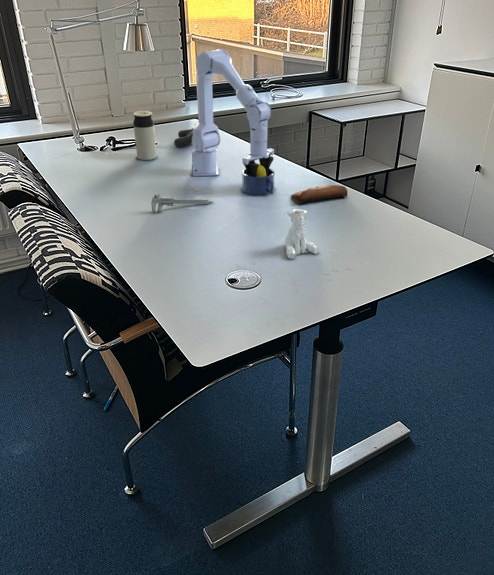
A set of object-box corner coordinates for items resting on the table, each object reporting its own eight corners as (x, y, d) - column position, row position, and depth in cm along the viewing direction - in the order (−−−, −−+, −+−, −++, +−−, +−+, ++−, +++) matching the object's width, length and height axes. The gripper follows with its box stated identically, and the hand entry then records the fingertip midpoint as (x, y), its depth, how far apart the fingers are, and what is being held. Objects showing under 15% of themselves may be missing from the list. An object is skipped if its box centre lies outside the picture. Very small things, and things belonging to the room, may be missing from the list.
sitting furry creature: (288, 260, 142) (290, 219, 136) (274, 246, 149) (275, 207, 142) (319, 253, 145) (322, 213, 139) (304, 240, 152) (306, 202, 146)
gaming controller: (179, 153, 229) (198, 142, 226) (171, 142, 227) (190, 130, 224) (184, 142, 243) (202, 131, 241) (177, 132, 241) (195, 120, 238)
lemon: (268, 184, 187) (269, 162, 183) (262, 190, 183) (262, 167, 178) (254, 182, 189) (254, 160, 185) (247, 187, 185) (247, 165, 180)
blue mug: (236, 187, 188) (236, 170, 184) (262, 181, 193) (262, 164, 190) (259, 200, 178) (259, 182, 174) (285, 193, 183) (286, 176, 179)
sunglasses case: (335, 188, 186) (341, 175, 180) (343, 204, 183) (349, 191, 177) (289, 195, 180) (294, 182, 175) (296, 211, 177) (301, 199, 172)
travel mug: (148, 161, 213) (143, 116, 203) (133, 158, 216) (128, 113, 207) (160, 156, 218) (156, 112, 209) (146, 153, 222) (141, 109, 212)
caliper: (153, 214, 168) (151, 195, 165) (152, 212, 169) (150, 194, 166) (212, 203, 176) (211, 185, 172) (210, 202, 177) (210, 184, 173)
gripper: (253, 147, 170) (253, 187, 177) (281, 138, 180) (280, 176, 187) (237, 143, 174) (237, 182, 181) (265, 134, 184) (264, 171, 191)
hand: (258, 179), depth 184 cm, fingers closed on lemon, 5 cm apart
